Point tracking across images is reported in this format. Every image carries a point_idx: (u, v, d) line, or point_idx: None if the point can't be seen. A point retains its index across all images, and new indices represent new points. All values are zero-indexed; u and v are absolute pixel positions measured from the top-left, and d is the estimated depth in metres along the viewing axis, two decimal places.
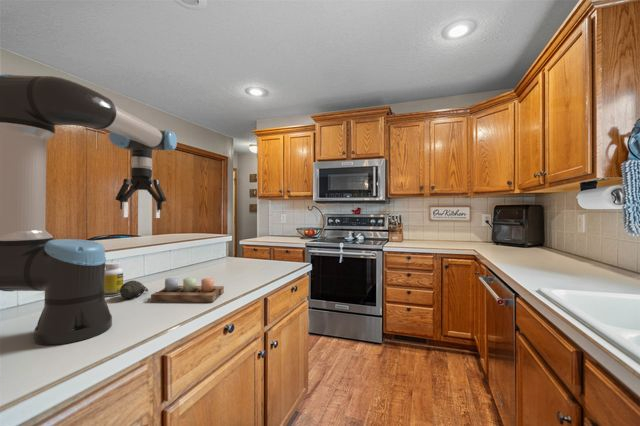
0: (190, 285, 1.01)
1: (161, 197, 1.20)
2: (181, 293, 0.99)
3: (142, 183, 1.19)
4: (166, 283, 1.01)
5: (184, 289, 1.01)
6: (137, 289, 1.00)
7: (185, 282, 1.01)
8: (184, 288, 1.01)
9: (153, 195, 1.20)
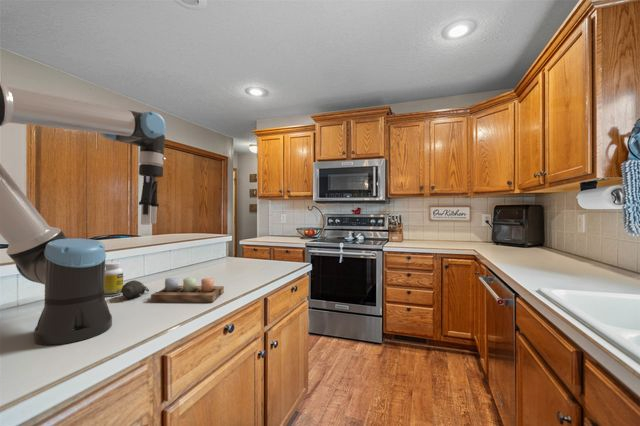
0: (190, 285, 1.01)
1: (141, 198, 0.93)
2: (181, 293, 0.99)
3: None
4: (166, 283, 1.01)
5: (184, 289, 1.01)
6: (139, 289, 1.00)
7: (185, 282, 1.01)
8: (184, 288, 1.01)
9: None
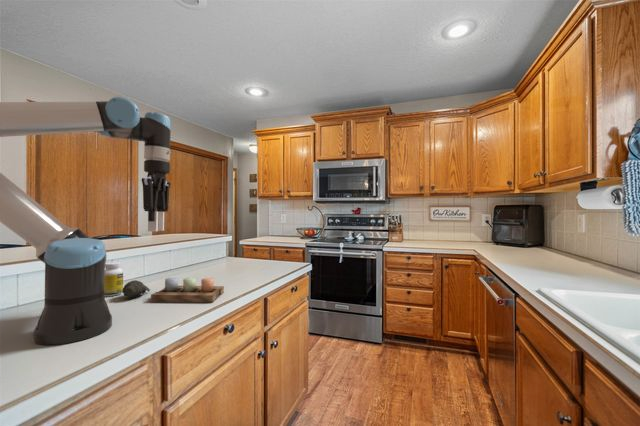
0: (190, 285, 1.01)
1: None
2: (181, 293, 0.99)
3: None
4: (166, 283, 1.01)
5: (184, 289, 1.01)
6: (140, 289, 1.01)
7: (185, 282, 1.01)
8: (184, 288, 1.01)
9: None
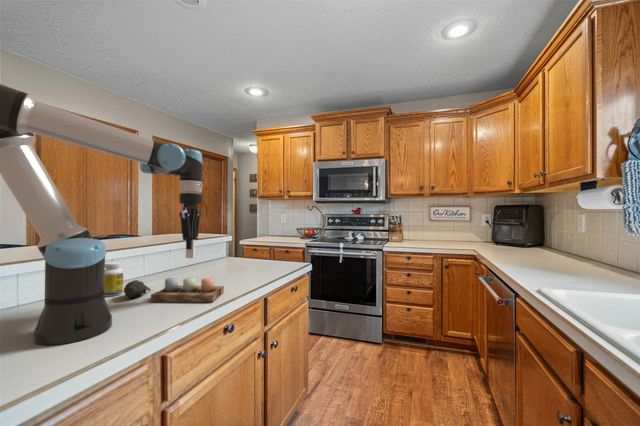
0: (190, 285, 1.01)
1: None
2: (181, 293, 0.99)
3: None
4: (166, 283, 1.01)
5: (184, 289, 1.01)
6: (141, 288, 1.01)
7: (185, 282, 1.01)
8: (184, 288, 1.01)
9: None
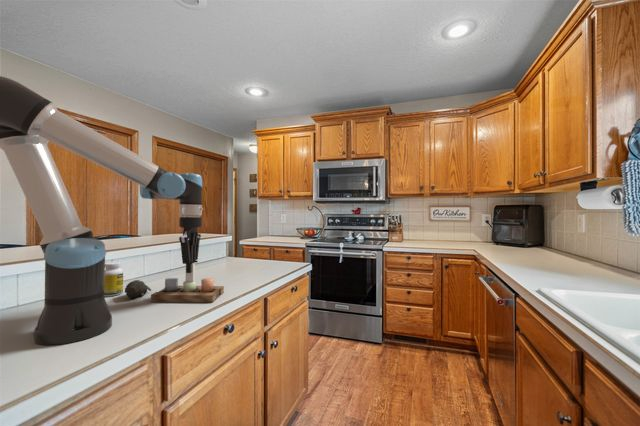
0: (190, 288, 1.01)
1: None
2: (181, 293, 0.99)
3: None
4: (166, 283, 1.01)
5: None
6: (142, 288, 1.01)
7: (185, 285, 1.01)
8: (184, 291, 1.01)
9: None
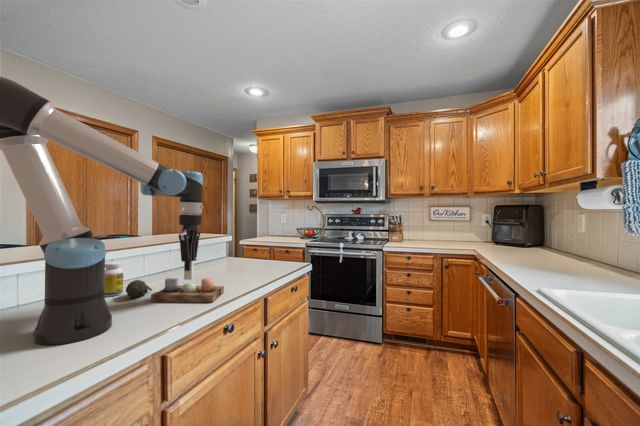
0: (190, 290, 1.01)
1: None
2: (181, 293, 0.99)
3: None
4: (166, 283, 1.01)
5: None
6: (143, 288, 1.01)
7: (185, 287, 1.01)
8: None
9: None
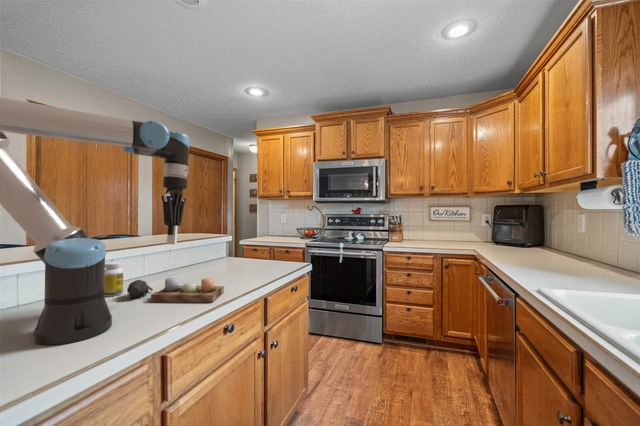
0: (190, 290, 1.01)
1: None
2: (181, 293, 0.99)
3: None
4: (166, 283, 1.01)
5: None
6: (145, 288, 1.02)
7: (185, 287, 1.01)
8: None
9: None
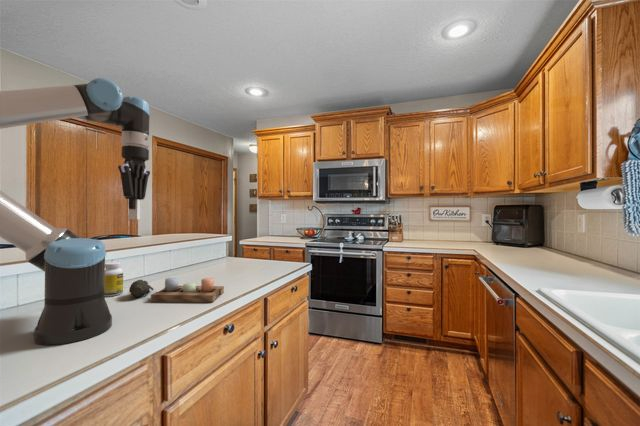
0: (190, 290, 1.01)
1: None
2: (181, 293, 0.99)
3: None
4: (166, 283, 1.01)
5: None
6: (147, 288, 1.02)
7: (185, 287, 1.01)
8: None
9: None
